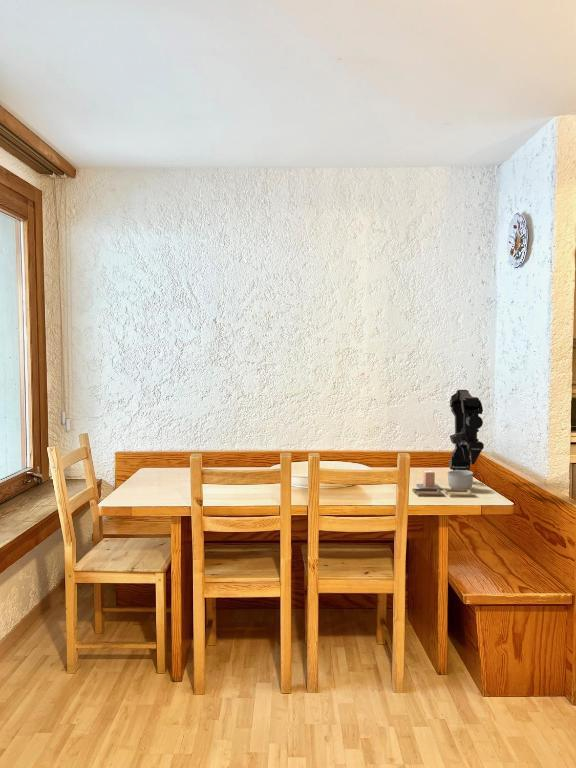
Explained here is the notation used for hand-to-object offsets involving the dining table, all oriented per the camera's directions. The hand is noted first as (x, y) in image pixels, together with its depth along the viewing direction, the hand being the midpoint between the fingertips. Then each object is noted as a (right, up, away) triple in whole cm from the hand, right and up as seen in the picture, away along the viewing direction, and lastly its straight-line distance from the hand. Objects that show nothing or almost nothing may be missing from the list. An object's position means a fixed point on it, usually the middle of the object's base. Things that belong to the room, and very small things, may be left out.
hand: (469, 462), depth 284 cm
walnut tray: (-19, -13, -5) cm, 24 cm away
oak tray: (-6, -13, -6) cm, 16 cm away
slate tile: (-16, -13, +6) cm, 21 cm away
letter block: (-16, -11, +6) cm, 21 cm away
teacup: (-2, -13, +8) cm, 15 cm away
